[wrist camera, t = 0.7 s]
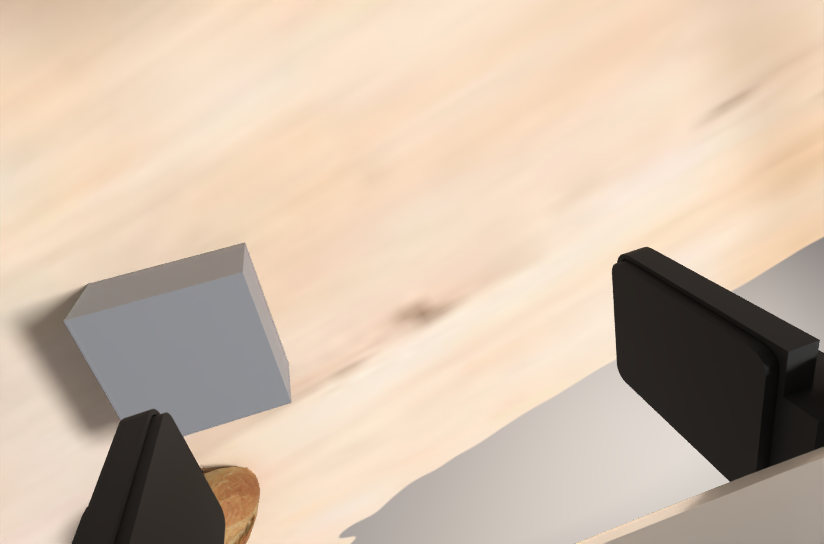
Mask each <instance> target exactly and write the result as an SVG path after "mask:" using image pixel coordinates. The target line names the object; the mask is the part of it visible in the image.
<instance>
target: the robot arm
mask: <svg viewBox="0 0 824 544" xmlns="http://www.w3.org/2000/svg"><path fill="white" fill-rule="evenodd" d="M612 281H613V299H614V317H615V336H616V354H617V366H618V370H619V373H620V375H621V377H622V378H623V380H624V381H625V382H626V383H627V384H628V385H629V386H630V387H631V388H632V389H633V390H634V391H635V392H637V394H639V395H640V396H641V397H642V398H643V399H644V400H645V401H646V402H647V403H648V404H649V405H650V406H651V407H652V408H653V409H654V410H655V411H657V413H658V414H660V415H661V416H662V417H663V418H664V419H665V420H666V421H667V422H668V423H669V424H670V425H671V426H672V427H673V428H674V429H675V430H676V431H677V432H678V433H679V434H681V435H682V436H683V437H684V438H685V439H686V440H687V441H688V442H689V443H690V444H691V445H692V446H693V447H694V448H695V449H696V450H697V451H698V452H699V453H700V454H702V455H703V456H704V457H705V458H706V459H707V460H708V461H709V462H710V463H711V464H712V465H713V466H714V467H715V468H716V469H717V470H718V471H719V472H720V473H721V474H722V475H724V476H725V477H726V478H727V479H728V480H729V481H730V482H729V483H727V484H724V485H721V486H719V487H716V488H714V489H711V490H709V491H706V492H704V493H701V494H699V495H696V496H694V497H691V498H689V499H686V500H684V501H681V502H679V503H676V504H674V505H671V506H668V507H666V508H664V509H661V510H658V511H656V512H653V513H651V514H648V515H646V516H644V517H641V518H638V519H636V520H633V521H631V522H628V523H626V524H623V525H621V526H618V527H615V528H613V529H610V530H608V531H605V532H603V533H600V534H598V535H595V536H593V537H590V538H588V539H585V540H583V541H580V542H578V543H576V544H824V353H823V352H821V351H819V350H818V348H819V341H820V340H819V339H817V338H815V337H813V336H811V335H809V334H808V333H806V332H804V331H802V330H800V329H798V328H797V327H795V326H793V325H791V324H789V323H787V322H786V321H784V320H782V319H780V318H778V317H776V316H775V315H773V314H771V313H769V312H767V311H765V310H764V309H762V308H760V307H758V306H756V305H754V304H752V303H751V302H749V301H747V300H745V299H743V298H742V297H740V296H738V295H736V294H734V293H732V292H730V291H729V290H727V289H725V288H723V287H721V286H719V285H718V284H716V283H714V282H712V281H710V280H708V279H707V278H705V277H703V276H701V275H699V274H697V273H696V272H694V271H692V270H690V269H688V268H686V267H685V266H683V265H681V264H679V263H677V262H675V261H674V260H672V259H670V258H668V257H666V256H664V255H663V254H661V253H659V252H657V251H655V250H653V249H652V248H649V247H643V248H640V249H637V250H634V251H631V252H628V253H625V254H622V255H620V256H619V258H618V261H617V263H616V264H614V265H613V268H612ZM224 539H225V517H224V513H223V510H222V507H221V505H220V504H219V502H218V500H217V498H216V496H215V494H214V493H213V491H212V489H211V487H210V485H209V483H208V482H207V480H206V478H205V476H204V474H203V473H202V471H201V469H200V467H199V465H198V463H197V462H196V460H195V458H194V456H193V454H192V452H191V451H190V449H189V447H188V445H187V443H186V441H185V440H184V438H183V436H182V434H181V432H180V431H179V429H178V427H177V425H176V423H175V421H174V420H173V418H172V416H171V415H170V414H169V413H167V412H166V413H163V414H160V413H159V411H157V410H156V409H150V410H147V411H144V412H141V413H138V414H135V415H132V416H129V417H126V418H124V419H122V420H121V421H120V423H119V425H118V428H117V431H116V433H115V436H114V439H113V441H112V444H111V447H110V449H109V452H108V455H107V457H106V460H105V463H104V465H103V468H102V471H101V473H100V476H99V479H98V481H97V484H96V487H95V490H94V492H93V495H92V498H91V500H90V503H89V506H88V507H87V508H86V510H85V512H84V514H83V515H82V518H81V521H80V523H79V526H78V529H77V531H76V534H75V537H74V539H73V542H72V544H224Z"/></svg>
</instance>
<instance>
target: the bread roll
mask: <svg viewBox="0 0 824 544" xmlns="http://www.w3.org/2000/svg"><path fill="white" fill-rule="evenodd" d="M204 476H205V478H206V480H207V482H208V483H209V485H210V487H211V489H212V491H213V493H214V494H215V496H216V498H217V500H218V502H219V504H220V505H221V507H222V510H223V513H224V517H225V539H224V544H246V543H247V541H248V539H249V537H250V533H251V531H252V528H253V525H254V522H255V519H256V516H257V510H258V503H259V497H260V488H259V483H258V480H257V478H256V476H255V474H254V473H253V472H252V471H250V470H249V469H248V468H240V467H236V466H234V467H228V468H220V469H216V470H213V471H211V472H208V473H205V474H204Z"/></svg>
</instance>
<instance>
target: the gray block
mask: <svg viewBox="0 0 824 544" xmlns="http://www.w3.org/2000/svg"><path fill="white" fill-rule="evenodd" d="M64 323H65V325H66V327H67V328H68V330H69V332H70V333H71V335H72V337H73V339H74V340H75V342H76V344H77V346H78V347H79V349H80V351H81V353H82V354H83V356H84V358H85V359H86V361H87V363H88V365H89V366H90V368H91V370H92V372H93V373H94V375H95V377H96V378H97V380H98V382H99V384H100V385H101V387H102V389H103V391H104V392H105V394H106V396H107V398H108V399H109V401H110V403H111V404H112V406H113V408H114V410H115V411H116V413H117V415H118V417H119V418H120V420H122V419H124V418H126V417H129V416H132V415H135V414H138V413H141V412H144V411H147V410H150V409H156V410H157V411H159V413H160V414H163V413H166V412H167V413H169V414H170V415H171V416H172V418H173V420H174V421H175V423H176V425H177V427H178V429H179V431H180V432H181V434H182V436H186V435H189V434H192V433H195V432H199V431H202V430H205V429H208V428H212V427H215V426H218V425H221V424H225V423H228V422H231V421H234V420H237V419H241V418H244V417H247V416H250V415H254V414H257V413H260V412H263V411H266V410H270V409H273V408H276V407H279V406H283V405H286V404H289V403H291V390H290V376H289V363H288V360H287V357H286V355H285V352H284V349H283V346H282V343H281V341H280V338H279V335H278V332H277V330H276V327H275V324H274V321H273V319H272V316H271V313H270V310H269V307H268V305H267V302H266V299H265V296H264V294H263V291H262V288H261V285H260V283H259V280H258V277H257V274H256V271H255V269H254V266H253V263H252V260H251V258H250V255H249V252H248V249H247V246H246V244H245V243H241V244H238V245H234V246H230V247H226V248H222V249H219V250H215V251H211V252H207V253H204V254H200V255H196V256H192V257H188V258H185V259H181V260H177V261H173V262H169V263H166V264H162V265H158V266H154V267H150V268H147V269H143V270H139V271H135V272H132V273H128V274H124V275H120V276H116V277H113V278H109V279H105V280H101V281H97V282H94V283H90V284H88V285H87V286H86V288H85V289H84V291H83V292H82V294H81V295H80V297H79V298H78V300H77V301H76V303H75V304H74V306H73V307H72V309H71V310H70V312H69V313H68V315H67V316H66V318H65V319H64Z"/></svg>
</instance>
